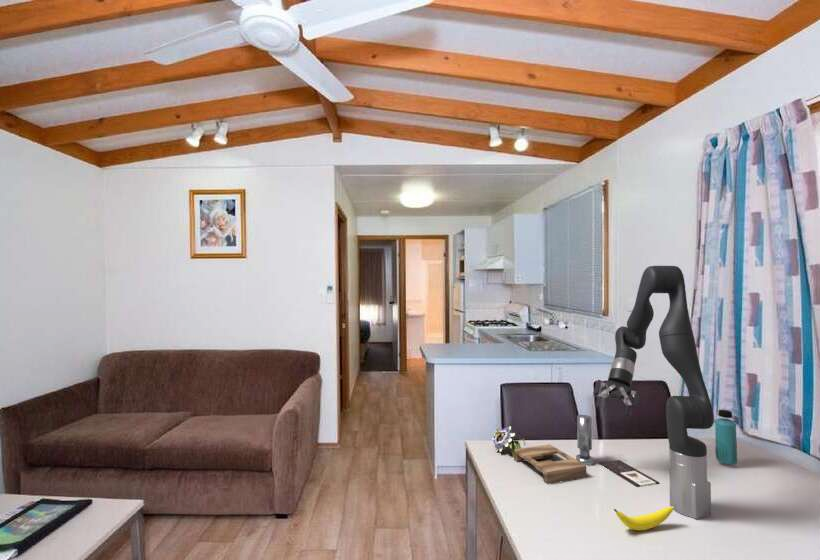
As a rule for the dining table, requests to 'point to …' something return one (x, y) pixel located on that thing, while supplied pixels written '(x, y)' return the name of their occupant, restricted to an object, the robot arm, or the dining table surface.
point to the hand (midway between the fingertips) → (611, 412)
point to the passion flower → (505, 440)
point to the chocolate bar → (629, 473)
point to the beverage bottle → (726, 438)
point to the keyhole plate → (551, 463)
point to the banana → (645, 519)
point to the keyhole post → (584, 439)
